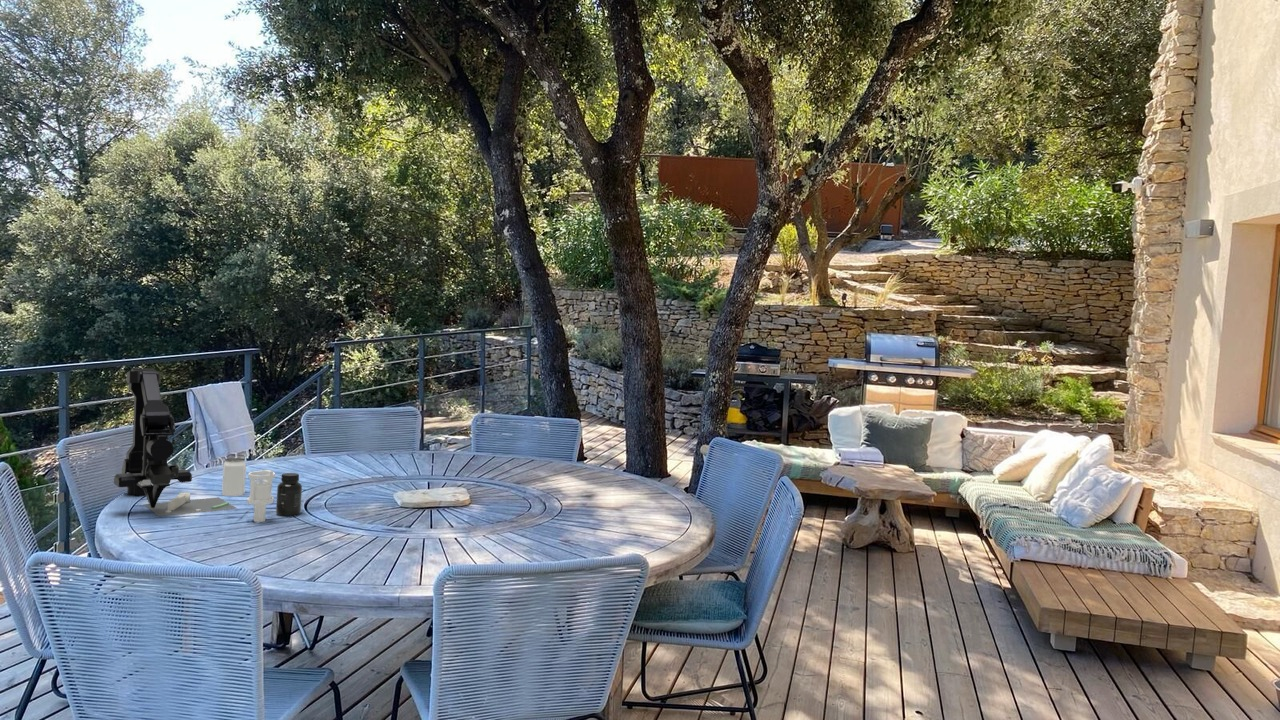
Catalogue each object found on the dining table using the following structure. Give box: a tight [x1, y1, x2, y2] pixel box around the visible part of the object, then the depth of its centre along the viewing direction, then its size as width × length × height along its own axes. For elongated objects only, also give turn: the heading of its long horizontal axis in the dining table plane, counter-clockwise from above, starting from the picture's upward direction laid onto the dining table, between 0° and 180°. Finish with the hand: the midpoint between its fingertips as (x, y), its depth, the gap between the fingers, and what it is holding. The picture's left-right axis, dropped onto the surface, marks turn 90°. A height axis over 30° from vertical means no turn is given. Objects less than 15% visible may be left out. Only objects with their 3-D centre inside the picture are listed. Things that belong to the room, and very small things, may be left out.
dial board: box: [142, 497, 238, 518], centre depth 252 cm, size 16×21×2 cm
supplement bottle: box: [275, 472, 303, 517], centre depth 256 cm, size 7×7×12 cm
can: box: [221, 457, 247, 497], centre depth 271 cm, size 6×6×12 cm
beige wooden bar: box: [167, 492, 191, 510], centre depth 252 cm, size 13×3×2 cm, turn 10°
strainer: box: [246, 469, 276, 523], centre depth 246 cm, size 7×7×15 cm
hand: (152, 507), depth 244 cm, fingers closed
